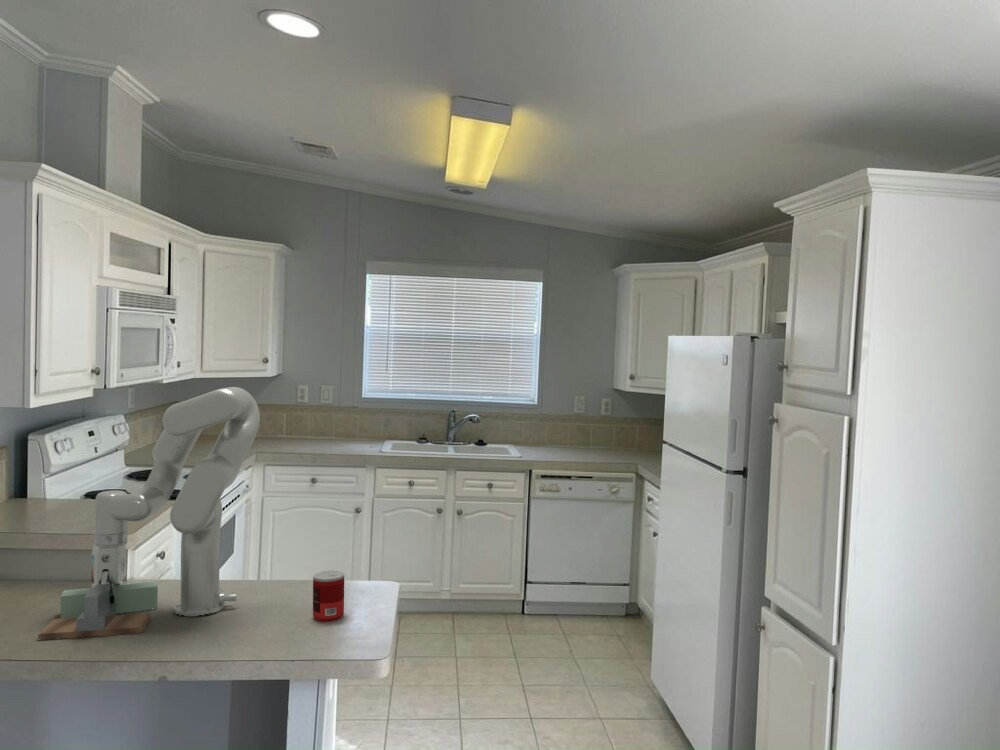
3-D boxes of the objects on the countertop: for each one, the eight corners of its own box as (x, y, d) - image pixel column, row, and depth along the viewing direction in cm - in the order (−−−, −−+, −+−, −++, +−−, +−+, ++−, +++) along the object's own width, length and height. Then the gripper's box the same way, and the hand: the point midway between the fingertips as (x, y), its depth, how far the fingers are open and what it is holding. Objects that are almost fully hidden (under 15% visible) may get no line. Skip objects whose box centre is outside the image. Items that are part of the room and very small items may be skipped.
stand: (150, 618, 183) (150, 581, 183) (141, 633, 173) (141, 593, 173) (53, 625, 177) (53, 587, 177) (38, 640, 168) (38, 600, 167)
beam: (157, 603, 195) (157, 581, 195) (157, 609, 190) (157, 586, 190) (63, 613, 186) (63, 590, 185) (60, 620, 181) (60, 596, 181)
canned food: (349, 614, 188) (350, 572, 188) (330, 624, 181) (330, 581, 181) (326, 609, 191) (326, 568, 191) (306, 619, 184) (306, 576, 184)
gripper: (118, 546, 180) (117, 617, 180) (135, 530, 197) (134, 596, 197) (85, 547, 178) (84, 619, 179) (104, 531, 195) (104, 597, 195)
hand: (110, 606), depth 188 cm, fingers closed on beam, 5 cm apart
